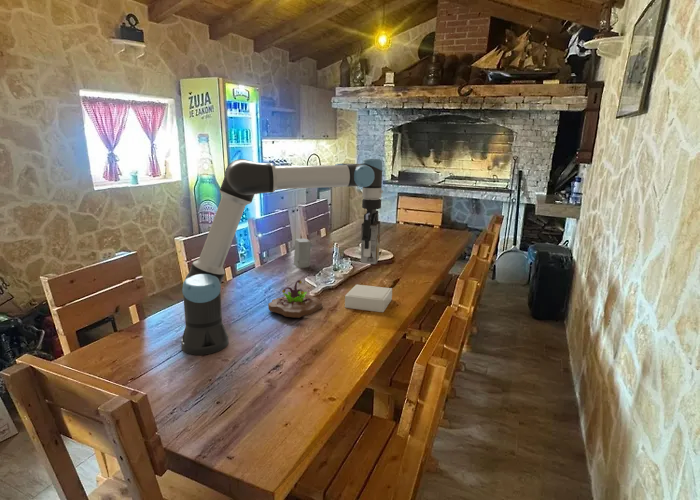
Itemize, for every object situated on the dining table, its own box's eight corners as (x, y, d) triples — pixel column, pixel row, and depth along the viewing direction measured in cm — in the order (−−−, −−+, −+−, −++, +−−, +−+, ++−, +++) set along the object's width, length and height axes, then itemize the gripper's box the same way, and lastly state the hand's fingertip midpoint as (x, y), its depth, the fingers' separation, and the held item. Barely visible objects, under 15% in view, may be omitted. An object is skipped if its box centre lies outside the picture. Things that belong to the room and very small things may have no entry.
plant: (330, 307, 172) (330, 280, 170) (295, 321, 158) (295, 292, 155) (297, 296, 185) (296, 271, 182) (261, 308, 170) (260, 281, 168)
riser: (383, 312, 167) (383, 299, 165) (344, 307, 171) (345, 295, 170) (391, 299, 181) (392, 287, 180) (356, 295, 186) (356, 283, 185)
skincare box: (293, 267, 230) (293, 238, 226) (305, 265, 233) (305, 237, 229) (298, 271, 222) (298, 241, 219) (311, 269, 225) (311, 240, 222)
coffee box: (364, 257, 177) (365, 220, 174) (379, 258, 176) (380, 220, 172) (360, 263, 168) (361, 223, 165) (376, 264, 167) (377, 224, 164)
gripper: (374, 201, 155) (372, 260, 160) (387, 196, 176) (385, 248, 181) (354, 200, 157) (353, 259, 162) (369, 195, 178) (368, 247, 183)
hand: (370, 253), depth 172 cm, fingers closed on coffee box, 9 cm apart
